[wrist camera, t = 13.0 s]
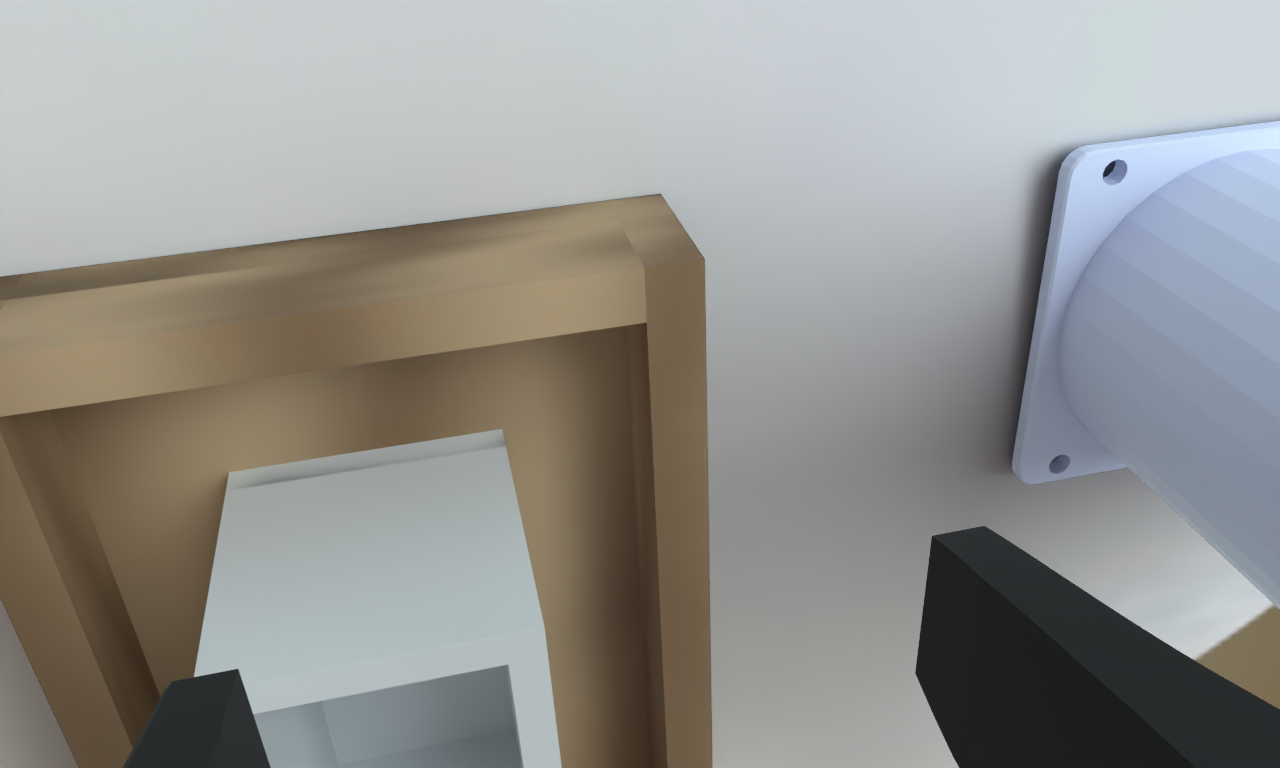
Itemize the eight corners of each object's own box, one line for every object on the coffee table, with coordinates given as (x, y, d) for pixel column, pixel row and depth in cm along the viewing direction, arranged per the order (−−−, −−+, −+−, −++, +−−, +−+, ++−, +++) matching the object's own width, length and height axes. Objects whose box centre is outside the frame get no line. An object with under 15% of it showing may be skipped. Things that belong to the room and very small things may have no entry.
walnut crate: (660, 193, 20) (705, 259, 18) (682, 774, 28) (713, 875, 26) (-42, 282, 18) (-107, 370, 16) (202, 878, 26) (186, 999, 24)
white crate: (502, 428, 21) (544, 626, 16) (540, 721, 25) (583, 945, 20) (229, 472, 20) (190, 695, 15) (315, 767, 24) (307, 1012, 19)
